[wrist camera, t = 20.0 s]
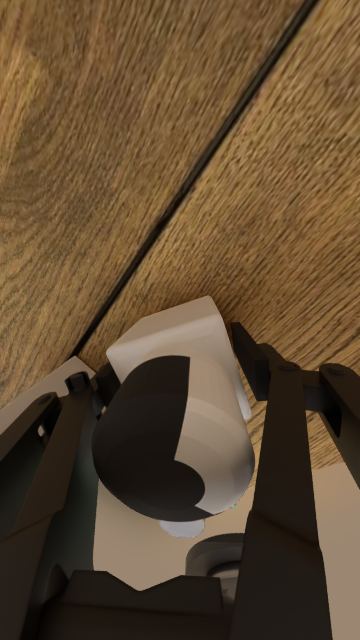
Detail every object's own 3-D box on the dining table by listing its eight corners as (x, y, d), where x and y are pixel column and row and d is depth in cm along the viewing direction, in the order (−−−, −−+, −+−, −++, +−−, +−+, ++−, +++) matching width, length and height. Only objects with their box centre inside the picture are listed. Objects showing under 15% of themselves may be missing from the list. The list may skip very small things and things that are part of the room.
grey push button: (206, 505, 16) (207, 539, 14) (167, 505, 16) (163, 538, 14) (200, 477, 15) (201, 509, 13) (159, 478, 15) (154, 509, 13)
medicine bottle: (165, 378, 19) (118, 555, 7) (139, 317, 17) (20, 424, 5) (231, 360, 17) (300, 542, 6) (210, 293, 16) (250, 365, 4)
